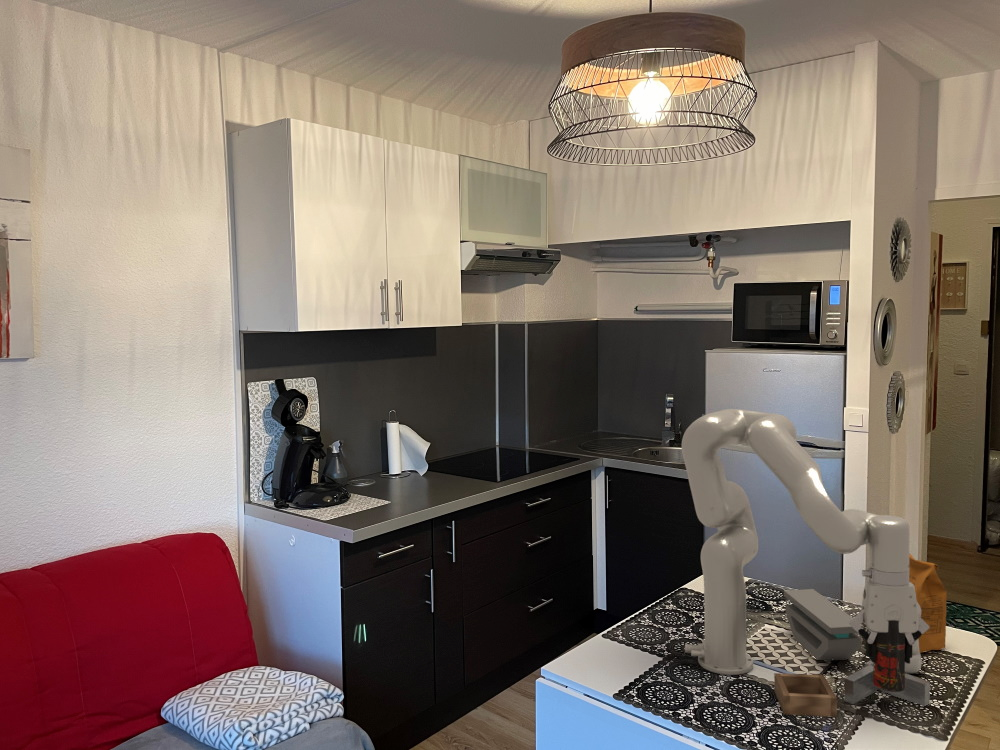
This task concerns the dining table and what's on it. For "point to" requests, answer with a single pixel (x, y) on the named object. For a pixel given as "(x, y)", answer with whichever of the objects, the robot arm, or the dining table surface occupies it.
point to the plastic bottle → (914, 654)
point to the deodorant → (890, 659)
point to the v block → (863, 686)
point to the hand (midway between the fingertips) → (888, 659)
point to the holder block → (805, 695)
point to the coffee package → (929, 603)
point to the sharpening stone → (821, 626)
